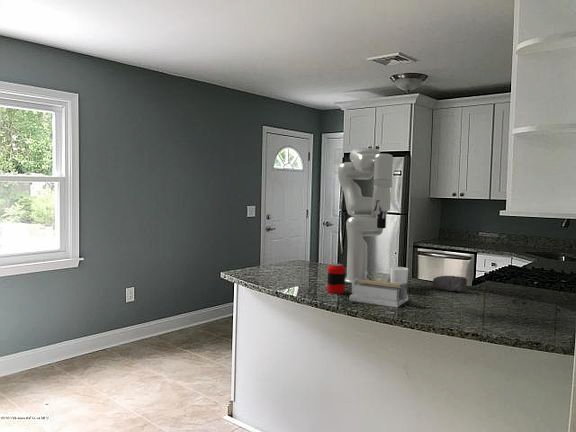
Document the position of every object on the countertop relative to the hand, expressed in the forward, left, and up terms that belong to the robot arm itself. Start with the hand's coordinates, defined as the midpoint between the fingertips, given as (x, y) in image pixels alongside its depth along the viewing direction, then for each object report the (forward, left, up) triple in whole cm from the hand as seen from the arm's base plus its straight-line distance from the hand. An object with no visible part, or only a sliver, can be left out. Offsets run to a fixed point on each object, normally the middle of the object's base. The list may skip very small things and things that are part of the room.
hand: (381, 227), depth 205 cm
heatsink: (+6, +2, -29) cm, 30 cm away
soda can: (+2, -19, -29) cm, 35 cm away
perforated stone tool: (-30, +22, -29) cm, 47 cm away
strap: (+6, +2, -22) cm, 23 cm away
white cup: (-17, +3, -29) cm, 34 cm away
